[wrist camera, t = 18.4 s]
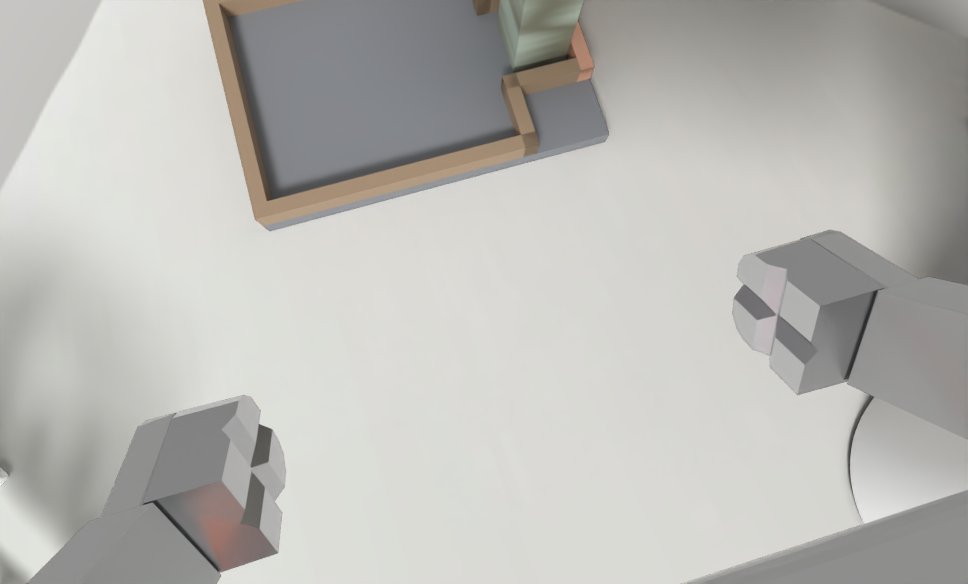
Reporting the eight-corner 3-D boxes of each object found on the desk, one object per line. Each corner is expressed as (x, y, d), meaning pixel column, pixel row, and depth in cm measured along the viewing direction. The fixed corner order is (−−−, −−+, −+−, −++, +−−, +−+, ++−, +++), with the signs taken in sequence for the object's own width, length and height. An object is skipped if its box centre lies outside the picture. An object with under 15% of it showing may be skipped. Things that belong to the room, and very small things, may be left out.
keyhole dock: (536, -54, 42) (541, -83, 40) (604, 141, 40) (615, 124, 37) (218, 19, 40) (201, -7, 37) (269, 231, 38) (254, 219, 35)
